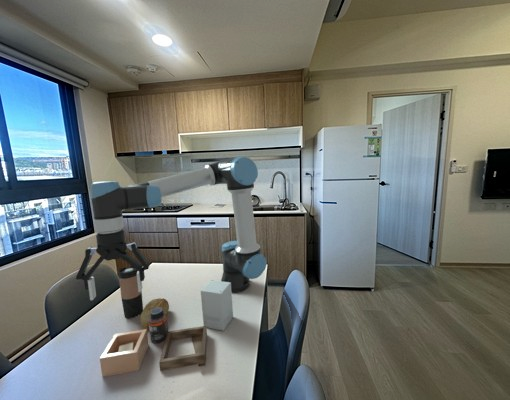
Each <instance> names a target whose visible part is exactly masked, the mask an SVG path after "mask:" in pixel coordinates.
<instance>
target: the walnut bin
mask: <svg viewBox="0 0 510 400" xmlns="http://www.w3.org/2000/svg"><path fill="white" fill-rule="evenodd" d="M207 329H208V328H207V327H206V326H204V325H203V326H202V325H201V326H195V327H188V328H181V329H176V330H168V334H167V337H166V340H165V341H164V345H163V348H162V351H161V355H160V357H159V358H160V359H159V362H158V364H159V366H158V367H159V371H167V370H172V369H177V368H178V369H179V368H184V367H189V366H195V365H198V367H202V366H206V361H207V341H208V339H207V338H208V331H207ZM187 338H189V339H190V338H191V341H192V345H193V350H194V353H191V354H185V355H179V356H175V357H173V356H172V357H168V354H169V350H170V348H171V343H172V341H176V340H183V339H187Z"/></svg>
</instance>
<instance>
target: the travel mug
mask: <svg viewBox="0 0 510 400" xmlns="http://www.w3.org/2000/svg"><path fill="white" fill-rule="evenodd" d="M137 271H138V270H136V269H135V268H134V267H132V266H131V265H130V266H129V267H122V268H120V269H119V270H118V272H117V273H118V280H119V289H120V290H119V291H120V298H121V303H122V310H123V314H124V315H123V316H124V317H125V318H126V319H133V318H137V317H138V316H141V314H142V311H143V309H144V306H143V305H144V303H143V302H144V301H143V292H142V290H143V289H142V290H141V292H138V283H137Z"/></svg>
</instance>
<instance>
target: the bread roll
mask: <svg viewBox="0 0 510 400" xmlns="http://www.w3.org/2000/svg"><path fill="white" fill-rule="evenodd" d="M158 307H161V308H162V309H163V312H164V313H165V314H166V315H167V313H168V312H169V310H170V303H169V301H168V300H167V299H165V298H164V297H163V298H160V297H159V298H154V299H152V300H150V301H149V302H148V303H147V304H146V305H145V306H144V307H143V311H142V313H141V314H140V319H139V320H140V325H141V328H142V330H144V329H147V331H150V329H149V318H150V316H151V311H152V310H153V309H154V308H158Z"/></svg>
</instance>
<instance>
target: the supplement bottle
mask: <svg viewBox="0 0 510 400" xmlns="http://www.w3.org/2000/svg"><path fill="white" fill-rule="evenodd" d="M149 329H150V330H149V335H150V342H151V343H152V344H153V345H154V344H156V345H157V344H161V343H163V342H164V343H165V341H166V337H167V334H168V331H169V325H168V318H167V314H165V313H164V312H163V309H162V308H161V307H158V308H154V309H153V310H152V311H151V316H150V318H149Z"/></svg>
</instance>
